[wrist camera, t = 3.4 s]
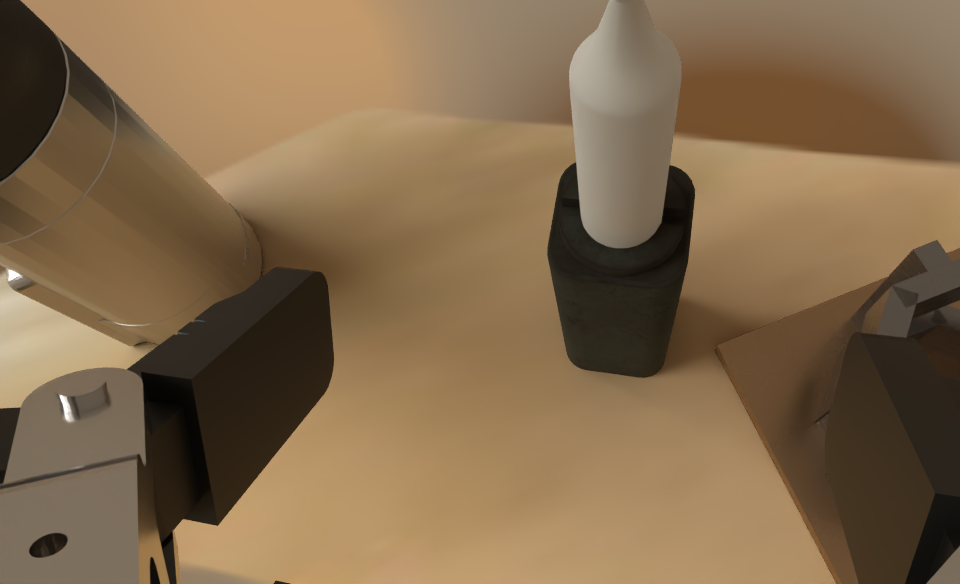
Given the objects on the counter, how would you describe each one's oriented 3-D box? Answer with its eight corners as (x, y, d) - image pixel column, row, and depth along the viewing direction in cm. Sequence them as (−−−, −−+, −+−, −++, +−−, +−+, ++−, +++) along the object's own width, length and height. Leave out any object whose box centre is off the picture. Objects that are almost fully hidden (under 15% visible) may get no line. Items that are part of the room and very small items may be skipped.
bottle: (577, 277, 41) (531, -117, 18) (672, 288, 39) (757, -118, 16) (563, 366, 39) (493, 59, 16) (662, 381, 38) (740, 71, 15)
